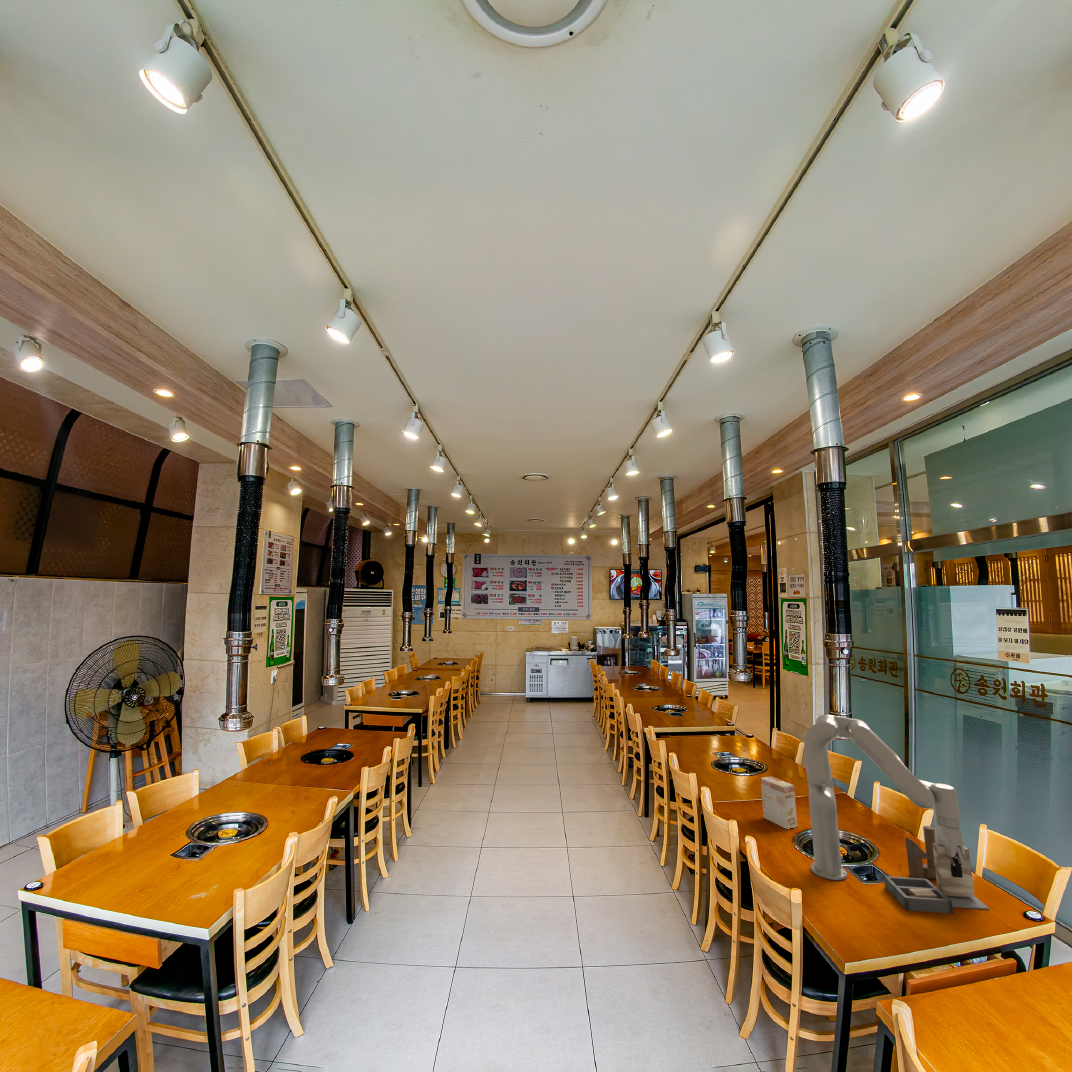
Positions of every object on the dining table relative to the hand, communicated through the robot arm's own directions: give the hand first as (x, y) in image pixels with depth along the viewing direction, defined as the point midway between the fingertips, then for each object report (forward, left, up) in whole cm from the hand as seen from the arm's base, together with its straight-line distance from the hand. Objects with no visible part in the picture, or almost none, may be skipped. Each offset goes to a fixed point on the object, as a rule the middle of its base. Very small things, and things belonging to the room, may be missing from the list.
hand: (953, 873), depth 185 cm
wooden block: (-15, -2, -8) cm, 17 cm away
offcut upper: (+7, -14, -6) cm, 17 cm away
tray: (+3, -14, -8) cm, 17 cm away
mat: (0, 0, -8) cm, 8 cm away
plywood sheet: (0, 0, -7) cm, 7 cm away
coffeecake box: (-60, -43, -8) cm, 74 cm away
